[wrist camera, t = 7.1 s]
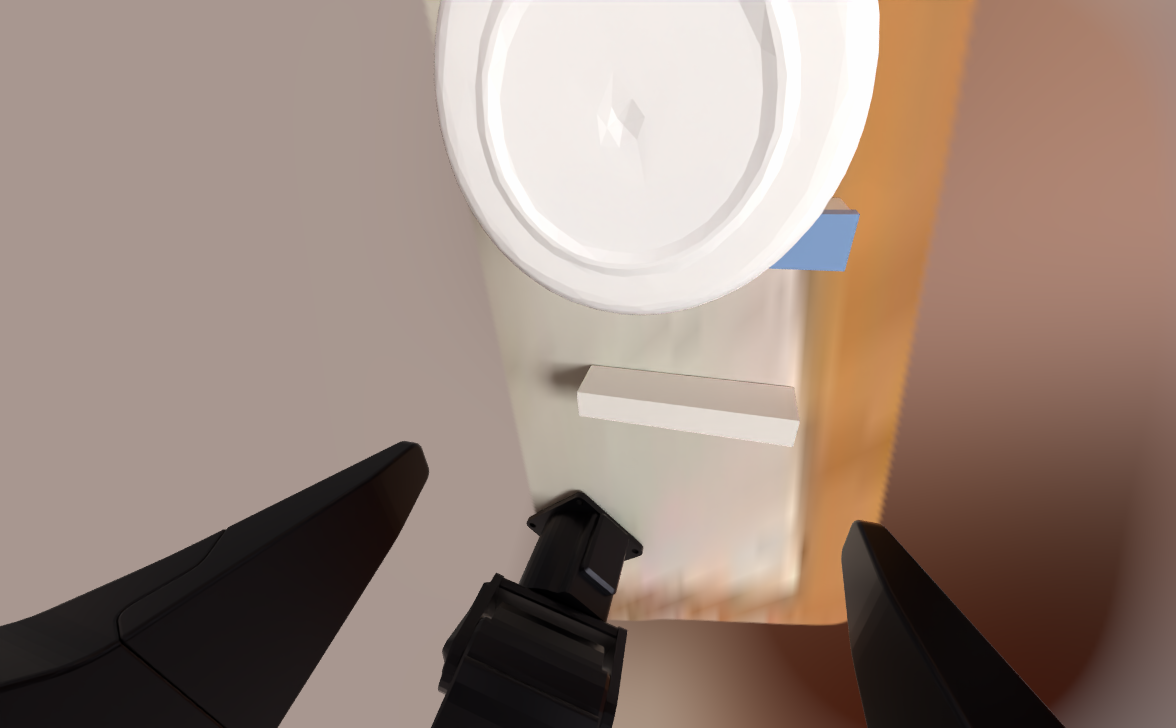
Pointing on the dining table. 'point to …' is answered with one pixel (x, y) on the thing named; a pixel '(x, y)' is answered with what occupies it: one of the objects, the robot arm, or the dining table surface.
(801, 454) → the dining table surface
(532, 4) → the sprinkles bottle
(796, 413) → the rail comb
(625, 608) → the dining table surface
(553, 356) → the dining table surface
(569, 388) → the dining table surface
